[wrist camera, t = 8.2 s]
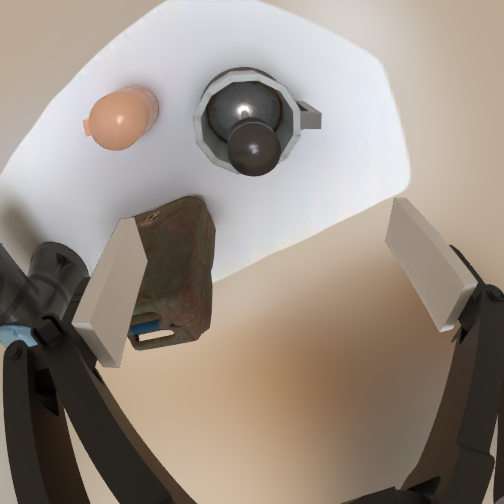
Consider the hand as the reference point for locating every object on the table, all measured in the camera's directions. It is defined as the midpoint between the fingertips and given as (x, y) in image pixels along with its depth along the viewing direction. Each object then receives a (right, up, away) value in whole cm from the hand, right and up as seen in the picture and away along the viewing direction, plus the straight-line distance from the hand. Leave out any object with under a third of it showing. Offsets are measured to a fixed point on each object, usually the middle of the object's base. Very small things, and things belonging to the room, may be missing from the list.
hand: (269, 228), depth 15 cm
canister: (-17, +4, +39) cm, 43 cm away
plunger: (-2, +18, +24) cm, 30 cm away
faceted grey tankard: (-1, +21, +28) cm, 35 cm away
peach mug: (-19, +21, +26) cm, 39 cm away
